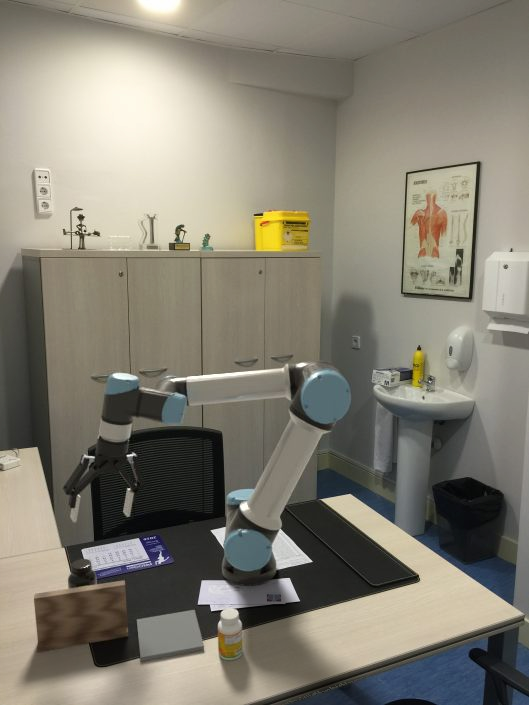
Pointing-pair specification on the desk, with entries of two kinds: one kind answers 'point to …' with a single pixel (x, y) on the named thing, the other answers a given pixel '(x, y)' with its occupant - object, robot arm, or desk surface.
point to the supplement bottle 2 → (230, 635)
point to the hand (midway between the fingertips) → (100, 516)
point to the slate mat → (169, 635)
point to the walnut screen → (80, 615)
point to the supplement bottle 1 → (81, 574)
